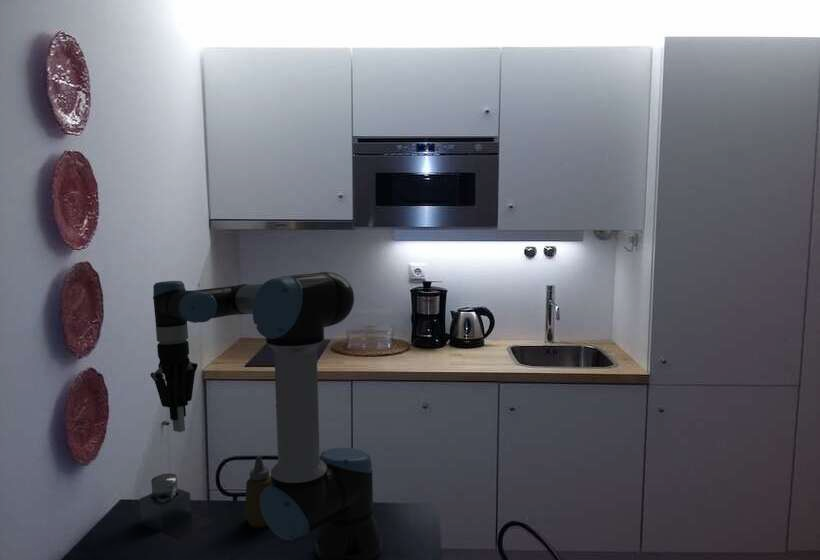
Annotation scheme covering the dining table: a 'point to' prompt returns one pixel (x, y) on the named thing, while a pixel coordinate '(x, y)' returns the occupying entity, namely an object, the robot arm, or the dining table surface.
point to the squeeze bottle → (256, 493)
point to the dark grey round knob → (164, 487)
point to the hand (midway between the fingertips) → (179, 430)
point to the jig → (171, 515)
